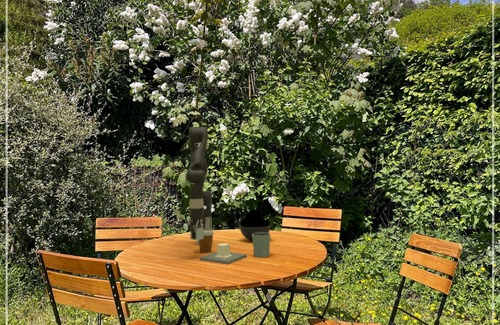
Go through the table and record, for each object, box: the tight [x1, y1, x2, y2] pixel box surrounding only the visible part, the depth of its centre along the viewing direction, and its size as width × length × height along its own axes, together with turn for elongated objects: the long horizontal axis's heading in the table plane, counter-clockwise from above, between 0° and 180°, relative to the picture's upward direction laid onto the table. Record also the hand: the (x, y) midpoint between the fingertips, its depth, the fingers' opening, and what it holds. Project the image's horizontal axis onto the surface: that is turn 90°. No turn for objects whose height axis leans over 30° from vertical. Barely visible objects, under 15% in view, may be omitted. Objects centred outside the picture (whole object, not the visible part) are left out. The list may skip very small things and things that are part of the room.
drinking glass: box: [252, 232, 271, 258], centre depth 239 cm, size 10×10×12 cm
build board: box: [199, 251, 248, 265], centre depth 233 cm, size 18×18×2 cm
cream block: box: [216, 242, 231, 257], centre depth 232 cm, size 5×5×6 cm
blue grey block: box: [189, 227, 204, 241], centre depth 236 cm, size 5×5×6 cm
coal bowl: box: [239, 210, 271, 242], centre depth 282 cm, size 20×20×19 cm
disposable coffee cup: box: [198, 230, 214, 254], centre depth 250 cm, size 10×10×12 cm
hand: (197, 237), depth 236 cm, fingers closed on blue grey block, 5 cm apart
